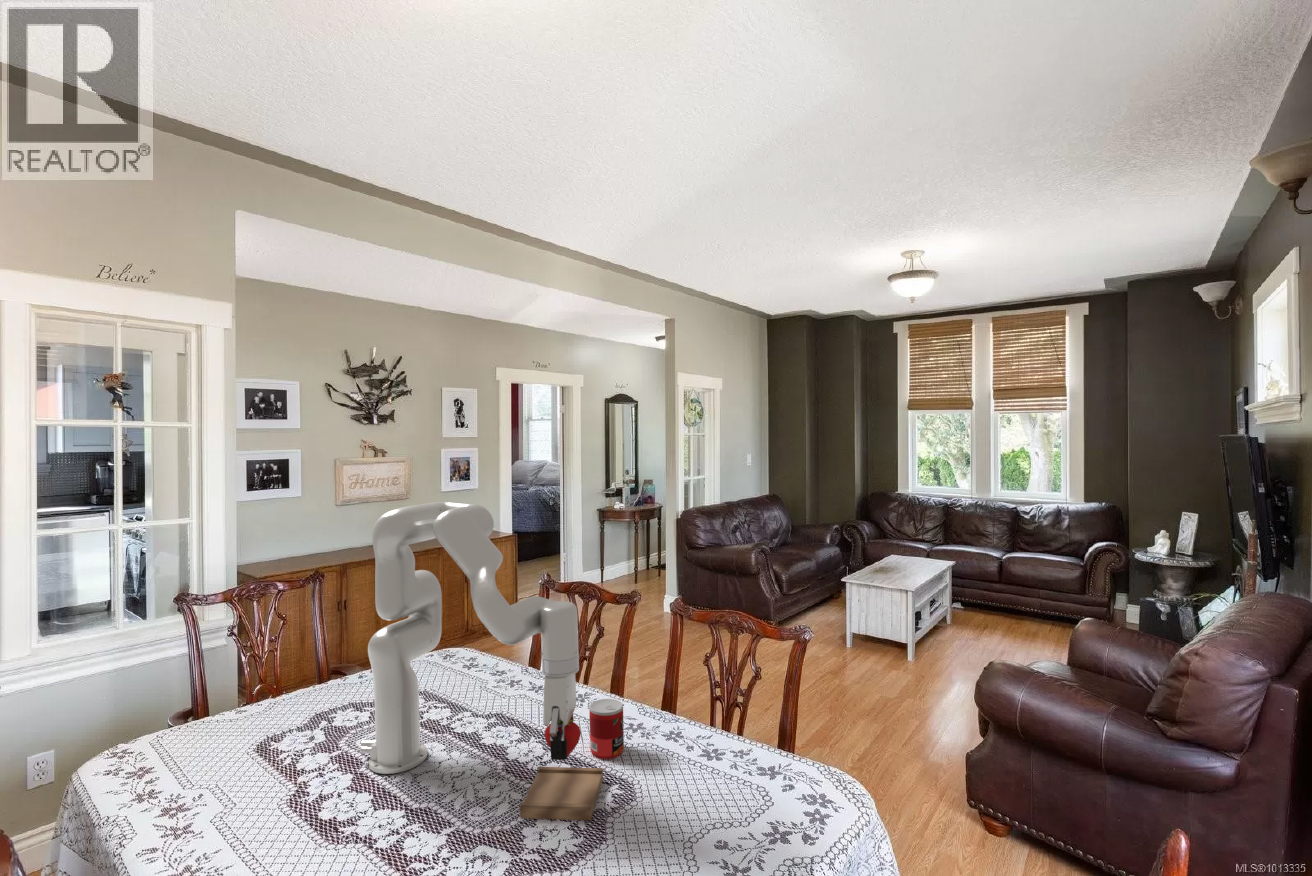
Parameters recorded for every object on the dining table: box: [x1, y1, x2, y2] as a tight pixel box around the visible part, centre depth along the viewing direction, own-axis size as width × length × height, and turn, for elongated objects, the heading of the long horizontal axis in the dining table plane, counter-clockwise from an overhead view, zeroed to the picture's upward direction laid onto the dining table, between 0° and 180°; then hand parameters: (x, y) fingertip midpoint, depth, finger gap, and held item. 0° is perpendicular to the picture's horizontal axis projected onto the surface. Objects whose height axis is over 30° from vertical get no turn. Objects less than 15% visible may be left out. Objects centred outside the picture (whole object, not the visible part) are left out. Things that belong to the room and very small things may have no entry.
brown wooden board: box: [519, 766, 604, 821], centre depth 131 cm, size 14×14×3 cm
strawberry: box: [544, 719, 582, 758], centre depth 131 cm, size 6×8×10 cm
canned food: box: [588, 698, 625, 760], centre depth 149 cm, size 8×8×11 cm
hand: (562, 749), depth 131 cm, fingers closed on strawberry, 5 cm apart
